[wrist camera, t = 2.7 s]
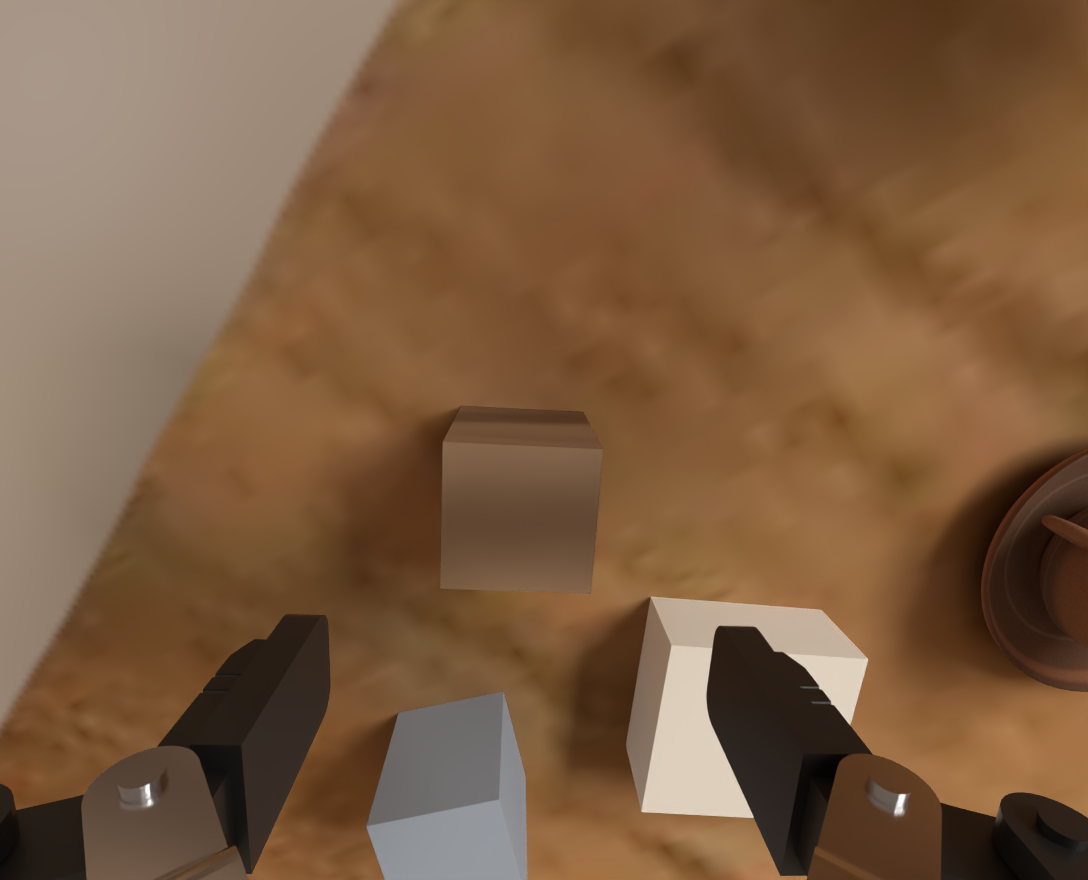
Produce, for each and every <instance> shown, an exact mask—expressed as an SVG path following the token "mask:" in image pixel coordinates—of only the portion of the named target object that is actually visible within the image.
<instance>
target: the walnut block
mask: <svg viewBox="0 0 1088 880" xmlns="http://www.w3.org/2000/svg"><path fill="white" fill-rule="evenodd" d="M602 459H603V448H602V446H601V444H600V442H599V440H598V439H597V437H596V435H595V433H594V431H593V429H592V428H591V426H590V424H589V422H588V420H587V418H586V416H585V415H584V413H583V412H573V411H553V410H533V409H513V408H493V407H473V406H461V408H460V410H459V411H458V413H457V415H456V417H455V419H454V421H453V423H452V425H451V427H450V429H449V431H448V433H447V435H446V437H445V438H444V440H443V454H442V512H441V569H440V589H462V590H492V591H522V592H553V593H583V594H591V586H592V574H593V563H594V551H595V540H596V528H597V517H598V505H599V494H600V482H601V471H602Z"/></svg>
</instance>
